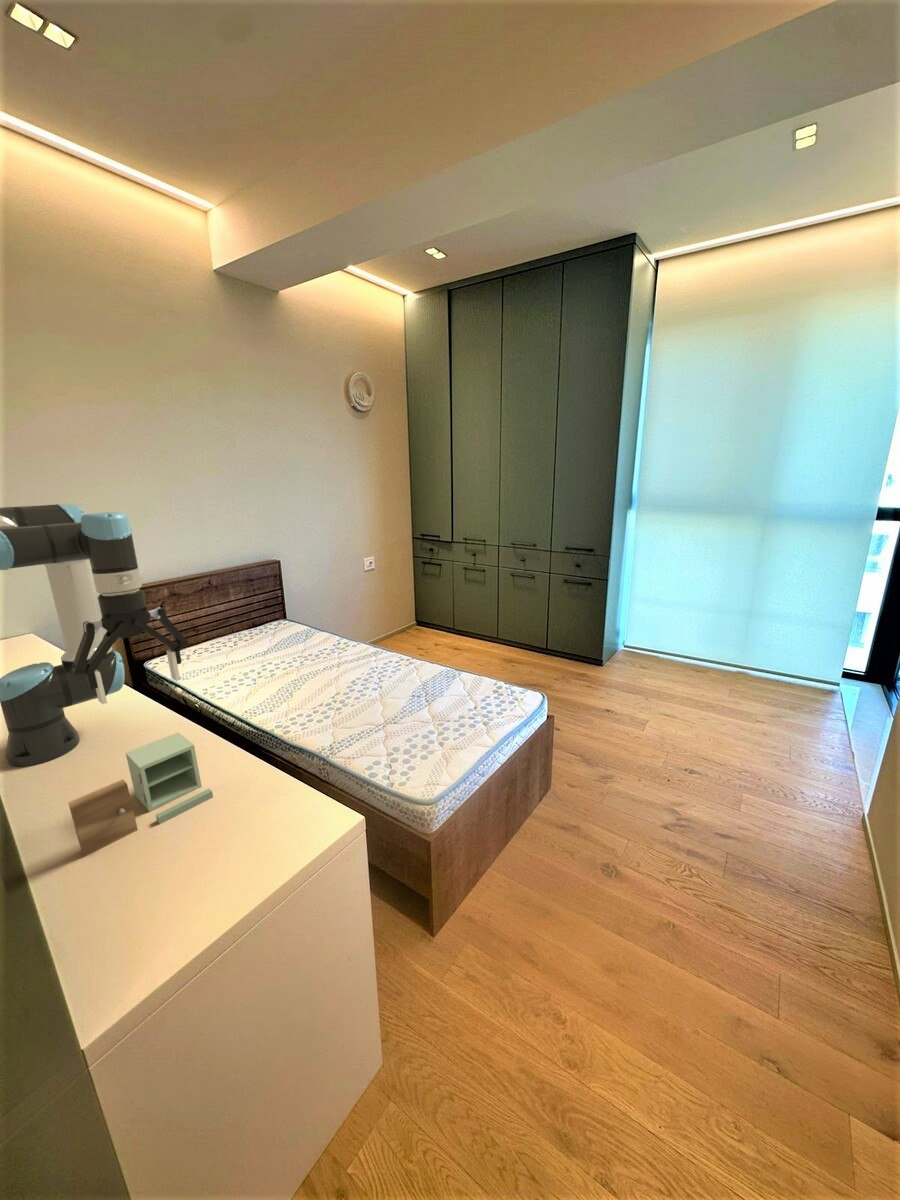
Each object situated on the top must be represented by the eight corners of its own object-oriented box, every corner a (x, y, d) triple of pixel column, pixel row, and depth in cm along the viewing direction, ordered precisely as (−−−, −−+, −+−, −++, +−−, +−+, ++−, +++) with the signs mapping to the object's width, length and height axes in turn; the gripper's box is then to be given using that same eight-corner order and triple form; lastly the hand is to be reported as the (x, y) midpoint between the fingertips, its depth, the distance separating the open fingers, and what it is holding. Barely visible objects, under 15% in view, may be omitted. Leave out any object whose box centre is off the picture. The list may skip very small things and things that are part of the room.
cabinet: (131, 796, 107) (121, 754, 104) (185, 772, 116) (178, 732, 113) (155, 826, 97) (145, 780, 95) (213, 796, 106) (205, 753, 103)
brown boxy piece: (81, 850, 92) (68, 802, 89) (133, 824, 98) (123, 779, 95) (86, 859, 89) (72, 810, 87) (139, 832, 96) (128, 785, 93)
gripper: (44, 608, 81) (72, 718, 87) (193, 582, 100) (209, 674, 105) (35, 602, 86) (62, 707, 91) (179, 578, 105) (195, 666, 110)
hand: (141, 690), depth 98 cm, fingers open, 13 cm apart
